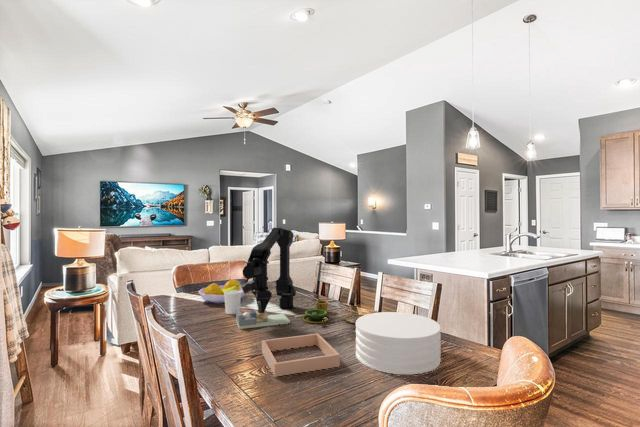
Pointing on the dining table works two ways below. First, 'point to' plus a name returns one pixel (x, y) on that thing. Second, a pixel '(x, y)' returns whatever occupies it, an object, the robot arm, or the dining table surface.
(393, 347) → the plate stack
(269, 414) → the dining table surface
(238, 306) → the white cup
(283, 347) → the rectangular frame
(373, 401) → the dining table surface
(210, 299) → the fruit bowl
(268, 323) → the pitch
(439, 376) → the dining table surface
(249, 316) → the ball
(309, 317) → the tableware set
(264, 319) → the sled
